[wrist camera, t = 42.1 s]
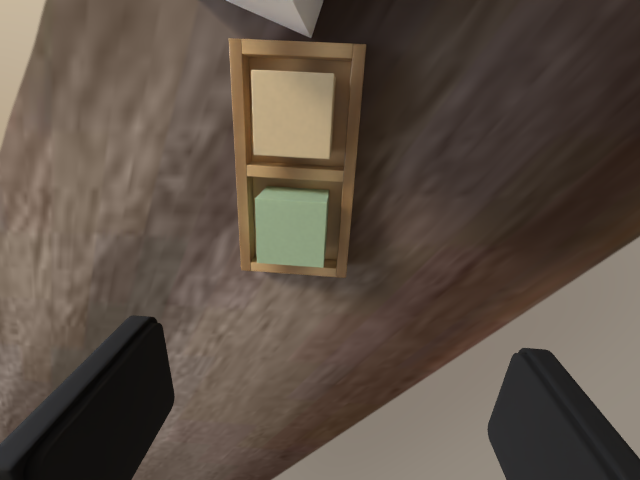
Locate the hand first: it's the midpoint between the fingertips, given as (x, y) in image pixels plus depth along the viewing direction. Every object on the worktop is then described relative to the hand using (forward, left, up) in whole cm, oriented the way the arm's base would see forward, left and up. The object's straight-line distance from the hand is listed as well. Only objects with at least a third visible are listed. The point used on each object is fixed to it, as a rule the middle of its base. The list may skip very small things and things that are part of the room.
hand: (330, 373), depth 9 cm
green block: (+4, +4, -24) cm, 24 cm away
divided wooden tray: (+4, -1, -24) cm, 24 cm away
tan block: (+4, -6, -24) cm, 25 cm away
